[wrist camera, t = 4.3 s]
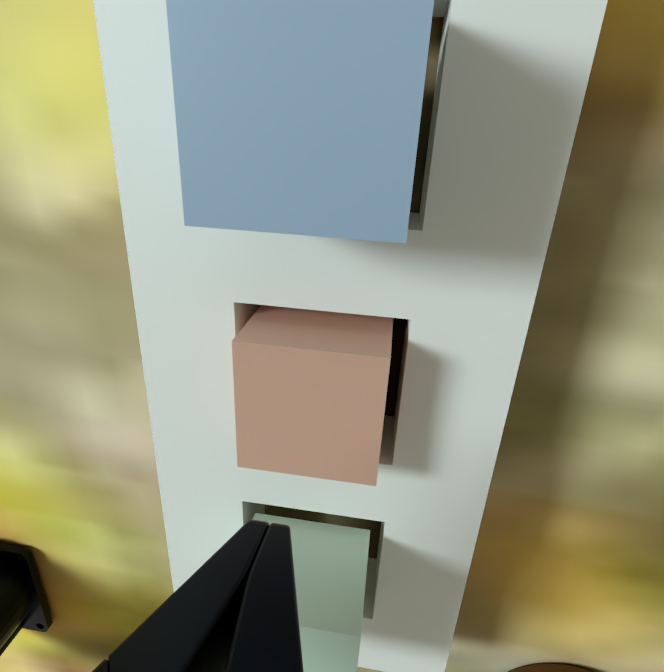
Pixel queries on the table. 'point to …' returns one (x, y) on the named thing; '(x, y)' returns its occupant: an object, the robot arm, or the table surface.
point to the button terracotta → (311, 392)
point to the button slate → (299, 113)
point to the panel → (360, 303)
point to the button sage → (328, 591)
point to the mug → (549, 668)
